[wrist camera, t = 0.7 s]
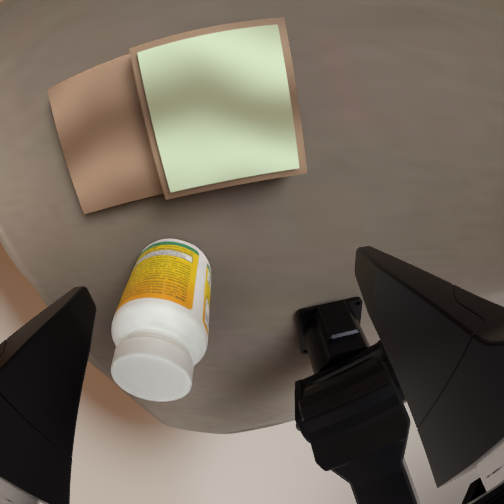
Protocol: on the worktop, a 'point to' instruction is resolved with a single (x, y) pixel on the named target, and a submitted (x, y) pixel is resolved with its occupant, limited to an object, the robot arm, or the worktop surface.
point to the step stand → (182, 116)
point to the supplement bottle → (162, 321)
